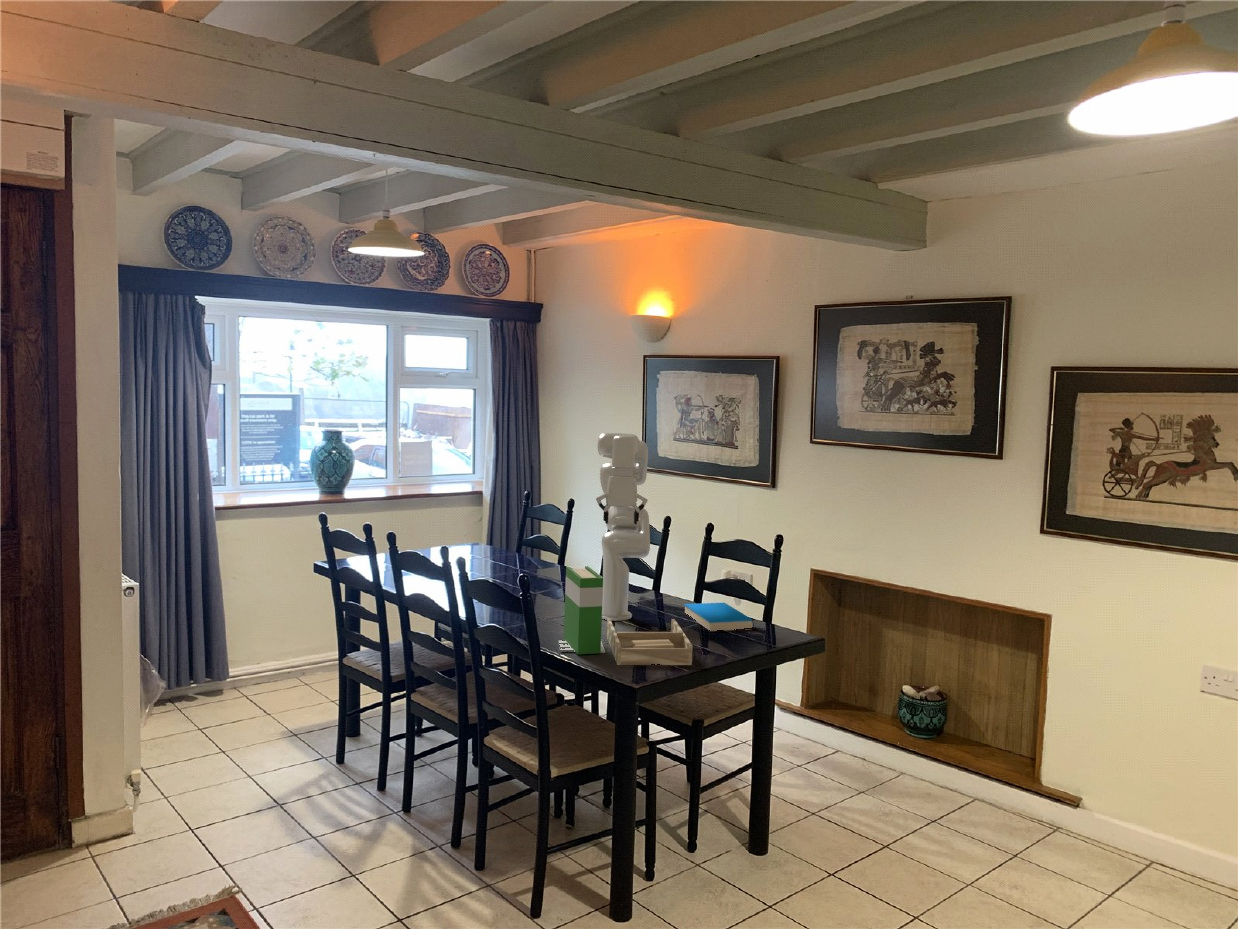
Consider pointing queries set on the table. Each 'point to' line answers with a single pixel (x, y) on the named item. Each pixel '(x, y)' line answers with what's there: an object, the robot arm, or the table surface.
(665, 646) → the oak offcut
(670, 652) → the rack
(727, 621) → the book
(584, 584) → the hardback book
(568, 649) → the mat
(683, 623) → the table surface
